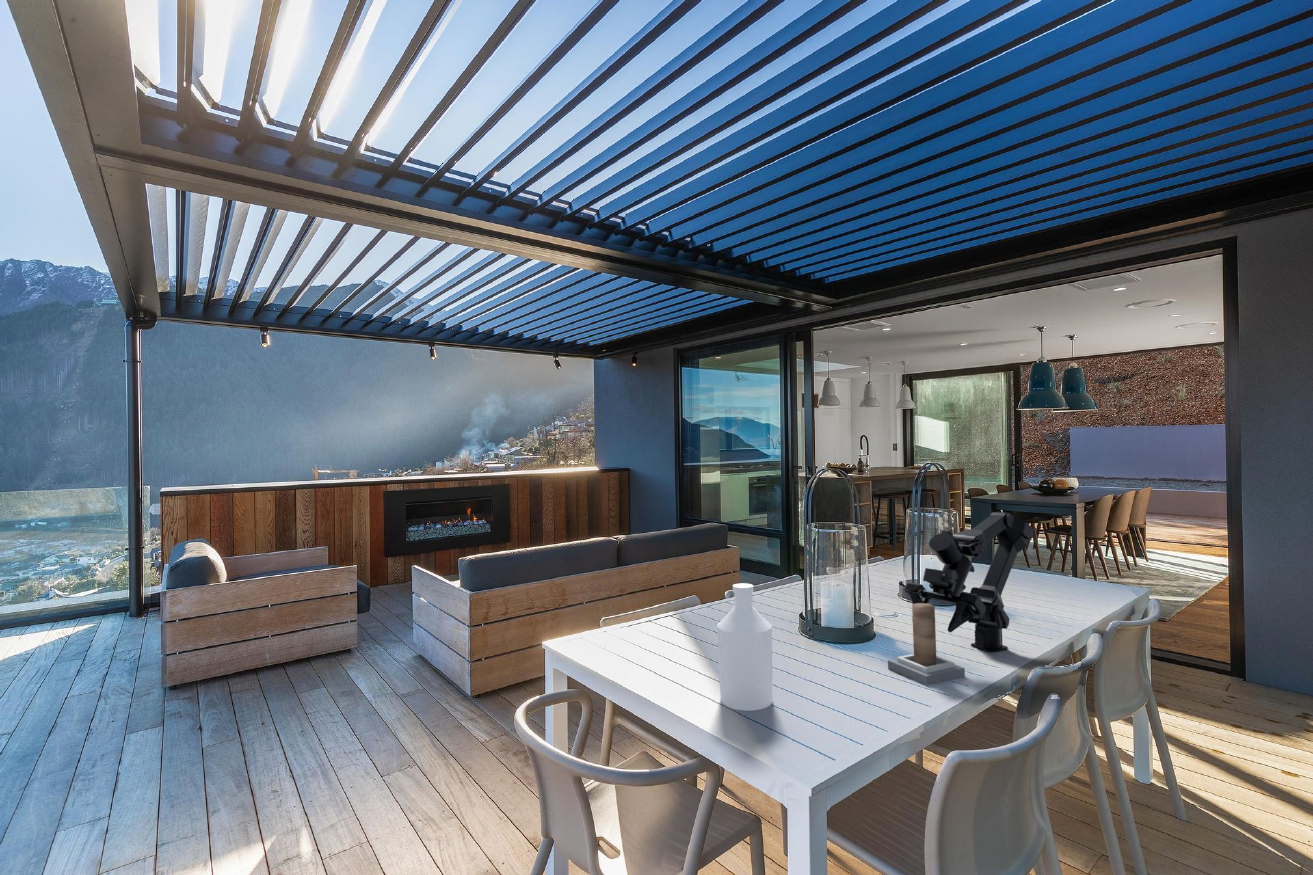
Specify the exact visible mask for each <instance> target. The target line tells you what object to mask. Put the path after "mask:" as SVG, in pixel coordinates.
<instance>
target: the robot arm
mask: <svg viewBox="0 0 1313 875" xmlns="http://www.w3.org/2000/svg"><path fill="white" fill-rule="evenodd" d="M995 537H996V539H997V542H998V546H997V548H996V551H995V554H994V555H993V559H992V560H991V563H990V566H989V568H988V571H987V573H986V575H985V578H984V580H983V583H982V584H981V586H980V587H976V586H973V587H972V588H971V589H970V592H966V591H965V590H966V588H967V586H966V585H965V583H966V580H967V577H968V576H969V573H975V567H974V566H973V562H972V560H971V559H969V558H974V559H975V558H976V559H978V558H979V559H980V558H981V556H982V555H983V554H984V553H985V552H986V551H987V544H988V543H989V542H990V541H991V540H993V539H994V538H995ZM1033 538H1034V528H1033V527H1032V526H1031V525H1030V524H1029V523H1028V522H1026V521H1025V520H1022V519H1020V518H1018V517H1015V516H1014V515H1013V514H1011V513H1009V512H1000V511H994V512H991V513H990V514H989V516H987V518H986V519H984V520H982V521H981V522H980V523H978V524H977V525H975V526H974V527H973V528H972V529H969V530H962V531H959V532H956V533H954V534H953V533H952V531H951V530H946V529H942V531H941V533H937V534H935V535H934V536H933V537H932V538H930V540H929V542H928V545H929V548H930V549H931V551H932V552H933V553H934V555H935V556H936V558H937V559H938V560H939V562H940V563H942V564H944V566H943V568H942V570H940V569H936V568H929V567H926V568H925V570H924V573H923V578H922V581H923V582H926V583H929V584H928V587H929V588H930V589H932V590H933V591H931V590H930V591H929V590H927V589H926V588H925V587H924V585H923V584H921V583H915V582H907V583H906V584H905V587H904V588H903V591H904V592H905V593H906V595H907V596H908V597H909V599H910V600H911V602H912V604H915V603H925V604H929V601H930V600H932V601H937V602H943V603H947V604H952V605H955V609H954V612H953V615H952V617H951V619H950V621H949V624H948V627H947V632H949V633H952V632H954V631H955V630H957V629H958V628H959V627H961V626H962V625H963V624H965V623H967V622H968V623H969V624H971V623H972V624H974V642H973V643H970V646H971V647H974V648H978V649H981V650H984V651H986V652H989V653H994V652H999V651H1003V650H1008V649H1009V647H1008V646H1006V645H1003V629H1005V630H1007V629H1008V627H1009V624H1010V617H1009V615H1007V612H1006V611H1005V610H1004V609H1005V608H1004V607H1005V605H1004V602H1003V598H1002V593H1003V591H1004V588H1005V586H1006V583H1007V581H1008V578H1009V576H1010V573H1011V571H1012V568H1013V565H1014V563H1015V561H1016V558H1017V555H1018V553H1020V552H1021V551H1023V550H1024V549H1027V547H1028V546H1029V545H1030V542H1031V541H1032V539H1033ZM962 590H963V591H962ZM911 619H912V621H911V622H912V623H913V615H912V618H911Z"/></svg>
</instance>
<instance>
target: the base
mask: <svg viewBox="0 0 1313 875" xmlns="http://www.w3.org/2000/svg"><path fill="white" fill-rule="evenodd" d="M936 659H937V664H936V665H932V666H927V667H925V666H923V665H920V664H918V663H915V662H914V653H910V654H905V655H901V656H897V657H896V658H893V659H887V668H888V670H891V671H893V672H895V673H898V674H900V675H902V676H905V677H907V678H908V679H911V680H914V681H915V682H918V683H921V684H923V685H925V686H930V685H933V684H938V683H943V682H947V681H951V680H954V679H959V678H963V677H964V678H965V677H966V672H965V667H963V666H960V665H958V664H955V662H953V661H951V660H948V659H945V658H942V657H939V656H937V655H936Z"/></svg>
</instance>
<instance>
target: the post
mask: <svg viewBox="0 0 1313 875" xmlns="http://www.w3.org/2000/svg"><path fill="white" fill-rule="evenodd" d="M911 609H912V610H911V611H912V616H913V622H912V634H913V635H912V637H913V638H912V639H913V654H914V662H915V663H918V664H920V665H923V666H925V667H927V666H932V665H936V664H937V659H936V656H937V641H936V639H937V638H936V637H937V636H936V632H937V631H936V611H935V609H936V606H935V605H934V604H929V603H927V604H925V603H915V604H913V603H912V605H911Z"/></svg>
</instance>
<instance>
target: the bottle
mask: <svg viewBox="0 0 1313 875" xmlns="http://www.w3.org/2000/svg"><path fill="white" fill-rule="evenodd" d="M754 591H755V590H754V585H753V584H751V583H747V582H746V583H745V582H744V583H743V582H741V583H740V582H739V583H735V584H732V592H733V593H734V595H733V596H734V606H733V607H732V609H731V610H730V611H729V612H728V613H727V614H726V615H725V617H724V618H723V619H721V620H720V621H719V622H718V624H717V625H716V628H717V647H718V649H717V651H718V668H719V669H718V670H719V689H720V690H719V693H720V703H722V705H723V706H725V707H728V708H730V709H732V710H737V711H745V712H747V711H748V712H751V711H752V712H754V711H760V710H765V709H766V708H769V707H770V706H771V705H772V704H773V701H774V700H773V699H774V698H773V638H772V637H773V635H772V632H773V630H772V624H771V623H770V622H769V621H768V620H767V619H766V618H764V617H763V615H762V614H760V612H759V611H758V610H757V609H756V608H755V607H754V606H753V593H754Z"/></svg>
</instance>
